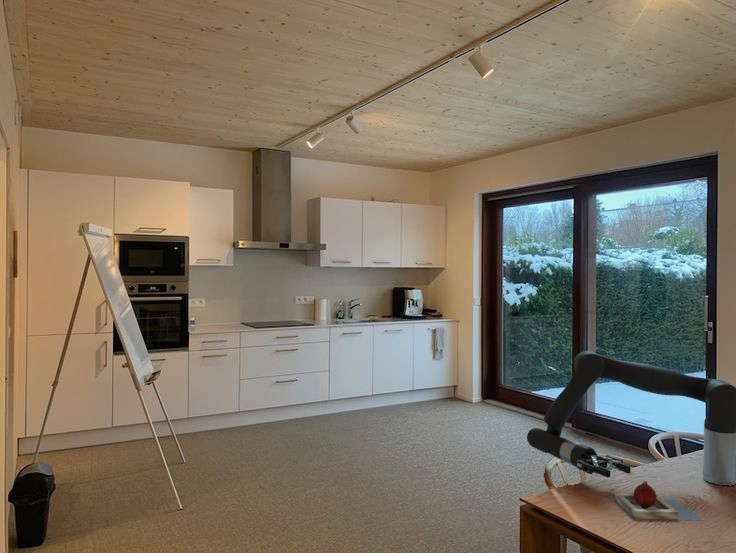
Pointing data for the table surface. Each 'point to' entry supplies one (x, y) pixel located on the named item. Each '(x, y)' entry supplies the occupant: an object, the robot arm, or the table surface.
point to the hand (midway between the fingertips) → (619, 472)
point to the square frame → (661, 513)
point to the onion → (645, 495)
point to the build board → (682, 510)
